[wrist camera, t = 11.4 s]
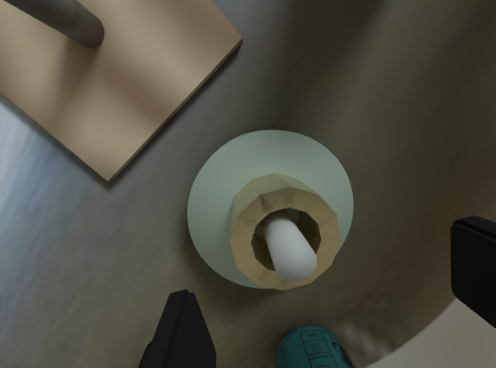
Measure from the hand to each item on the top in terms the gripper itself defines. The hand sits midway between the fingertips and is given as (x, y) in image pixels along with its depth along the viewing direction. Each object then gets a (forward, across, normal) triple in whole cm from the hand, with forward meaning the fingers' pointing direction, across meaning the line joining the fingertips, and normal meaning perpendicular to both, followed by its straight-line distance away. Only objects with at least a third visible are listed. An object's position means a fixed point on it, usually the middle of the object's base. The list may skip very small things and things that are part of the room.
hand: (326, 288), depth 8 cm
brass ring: (+8, +1, 0) cm, 9 cm away
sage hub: (+12, +1, +1) cm, 12 cm away
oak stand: (+12, +9, -14) cm, 20 cm away
